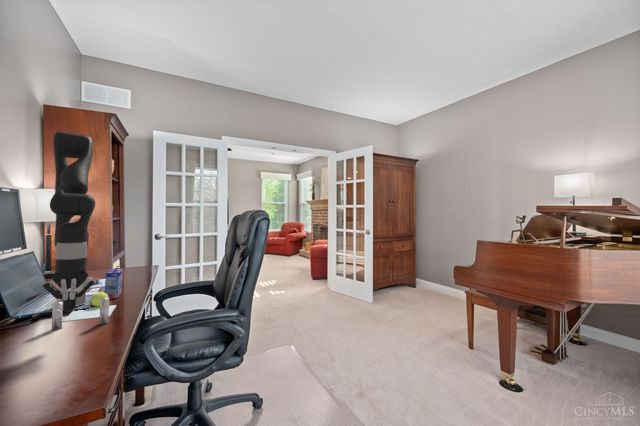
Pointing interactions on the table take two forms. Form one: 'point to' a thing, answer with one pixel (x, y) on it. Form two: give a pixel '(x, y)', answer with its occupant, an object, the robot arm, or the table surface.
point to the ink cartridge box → (113, 283)
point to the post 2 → (104, 310)
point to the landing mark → (87, 313)
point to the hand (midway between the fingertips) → (69, 310)
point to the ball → (98, 298)
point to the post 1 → (57, 315)
